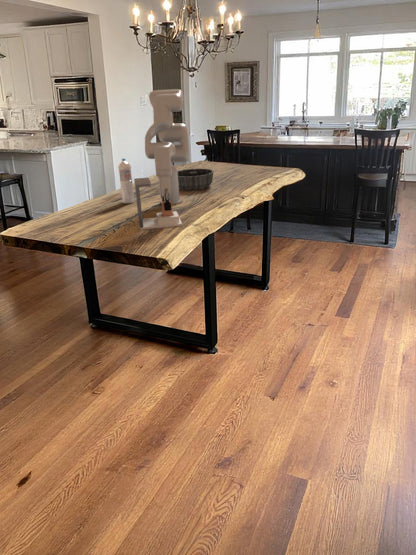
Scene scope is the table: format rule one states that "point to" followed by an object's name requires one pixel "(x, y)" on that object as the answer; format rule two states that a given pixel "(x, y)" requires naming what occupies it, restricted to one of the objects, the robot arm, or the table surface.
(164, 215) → the peg
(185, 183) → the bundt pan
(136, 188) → the grey l-shaped bracket
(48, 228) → the table surface
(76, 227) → the table surface
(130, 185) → the water bottle
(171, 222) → the socket stand
